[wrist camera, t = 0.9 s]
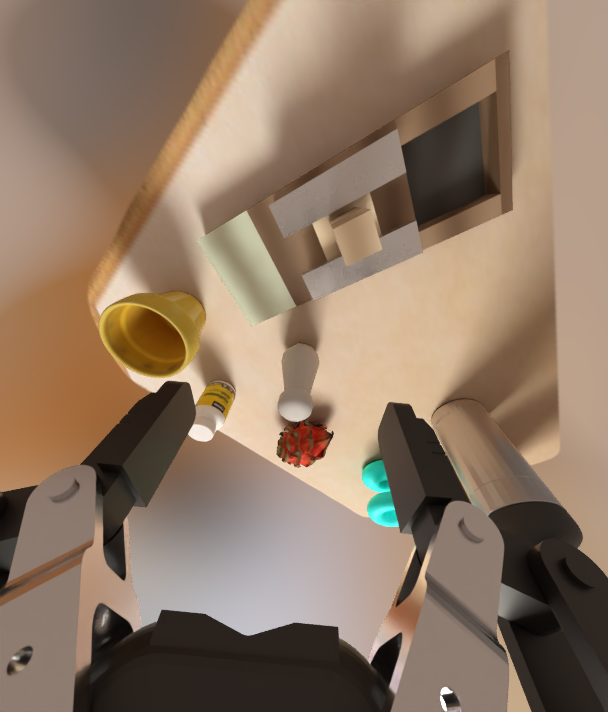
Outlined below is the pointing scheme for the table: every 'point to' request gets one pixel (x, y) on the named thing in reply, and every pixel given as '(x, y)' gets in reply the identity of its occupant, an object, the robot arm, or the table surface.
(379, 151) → the grey slotted block
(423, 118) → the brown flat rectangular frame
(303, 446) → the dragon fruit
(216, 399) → the supplement bottle
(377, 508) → the donuts
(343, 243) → the slider block
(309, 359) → the salt shaker
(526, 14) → the table surface
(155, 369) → the plant pot
